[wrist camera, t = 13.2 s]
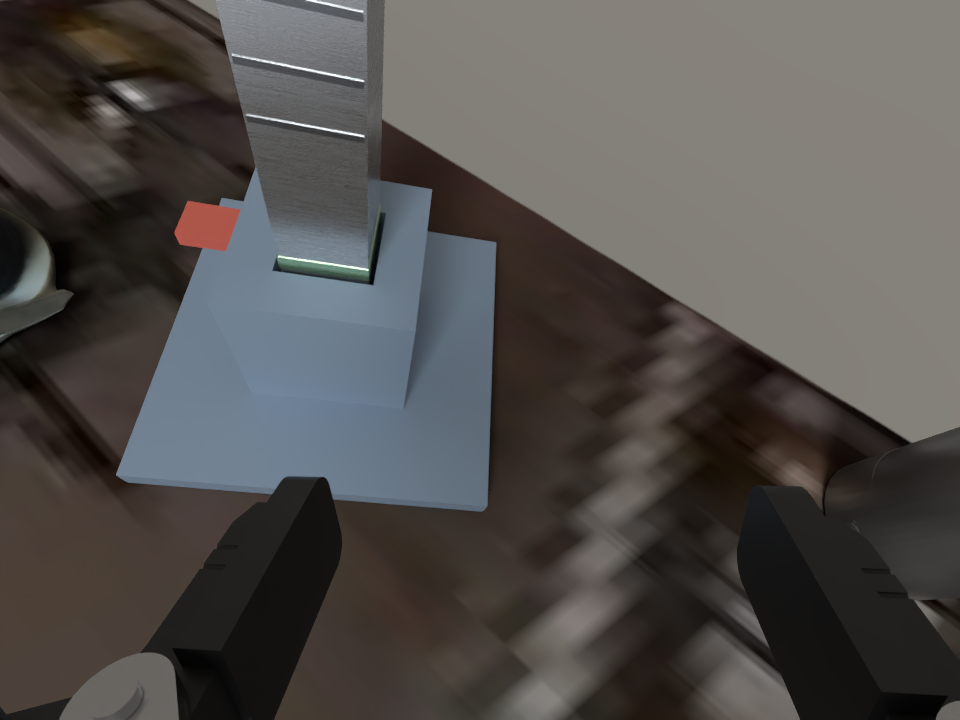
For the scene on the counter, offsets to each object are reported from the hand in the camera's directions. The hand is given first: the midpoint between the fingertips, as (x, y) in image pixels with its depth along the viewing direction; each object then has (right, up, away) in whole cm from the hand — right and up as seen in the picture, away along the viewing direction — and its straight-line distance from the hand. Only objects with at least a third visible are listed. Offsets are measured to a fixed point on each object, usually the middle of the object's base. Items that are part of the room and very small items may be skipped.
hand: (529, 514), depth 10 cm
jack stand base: (-10, +4, +25) cm, 27 cm away
